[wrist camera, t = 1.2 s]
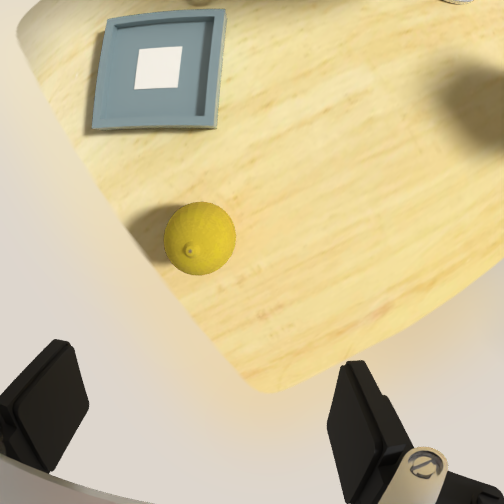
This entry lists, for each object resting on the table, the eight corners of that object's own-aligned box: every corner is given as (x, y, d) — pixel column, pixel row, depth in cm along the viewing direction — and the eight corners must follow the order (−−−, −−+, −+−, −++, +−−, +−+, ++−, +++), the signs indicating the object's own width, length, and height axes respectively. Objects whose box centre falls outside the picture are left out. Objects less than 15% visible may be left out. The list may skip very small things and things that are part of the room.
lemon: (211, 184, 28) (195, 192, 20) (250, 233, 29) (249, 259, 21) (165, 222, 29) (135, 244, 21) (203, 268, 30) (186, 305, 22)
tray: (116, 26, 23) (107, 19, 21) (226, 18, 23) (225, 9, 21) (102, 130, 26) (91, 128, 24) (216, 128, 26) (213, 125, 24)
